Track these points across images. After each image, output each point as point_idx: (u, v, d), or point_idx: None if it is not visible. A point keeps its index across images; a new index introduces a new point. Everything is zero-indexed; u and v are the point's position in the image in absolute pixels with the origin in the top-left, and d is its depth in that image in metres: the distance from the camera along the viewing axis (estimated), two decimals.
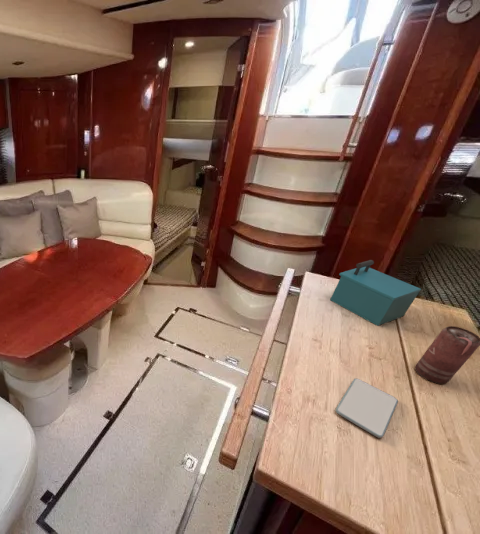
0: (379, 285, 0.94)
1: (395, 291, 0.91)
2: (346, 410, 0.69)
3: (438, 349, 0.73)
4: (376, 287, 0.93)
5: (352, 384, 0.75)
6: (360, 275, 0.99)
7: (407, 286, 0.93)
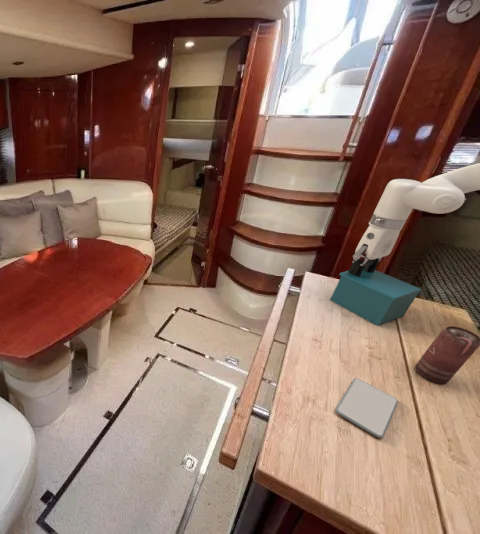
0: (379, 285, 0.94)
1: (395, 291, 0.91)
2: (346, 410, 0.69)
3: (438, 349, 0.73)
4: (376, 287, 0.93)
5: (352, 384, 0.75)
6: (360, 275, 0.99)
7: (407, 286, 0.93)
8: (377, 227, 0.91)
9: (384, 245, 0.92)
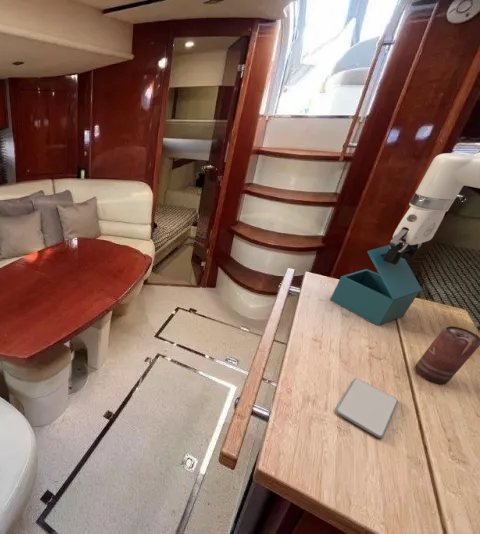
0: (392, 278, 0.90)
1: (401, 289, 0.90)
2: (346, 410, 0.69)
3: (438, 349, 0.73)
4: (389, 279, 0.90)
5: (352, 384, 0.75)
6: None
7: (413, 283, 0.92)
8: (420, 208, 0.81)
9: (427, 228, 0.83)
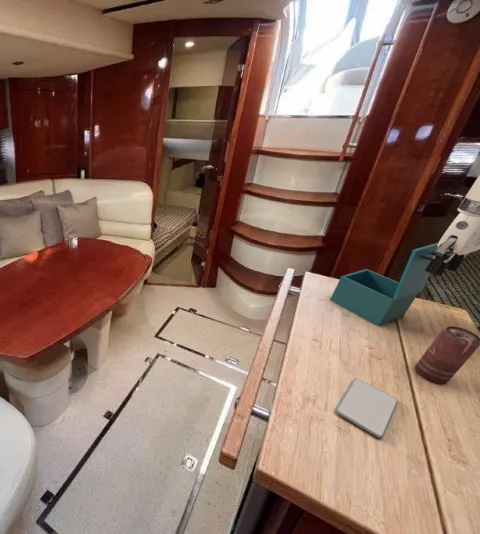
0: (409, 280, 0.87)
1: (407, 290, 0.89)
2: (346, 410, 0.69)
3: (438, 349, 0.73)
4: (406, 281, 0.86)
5: (352, 384, 0.75)
6: (421, 259, 0.85)
7: (421, 285, 0.90)
8: (472, 214, 0.73)
9: (479, 237, 0.74)
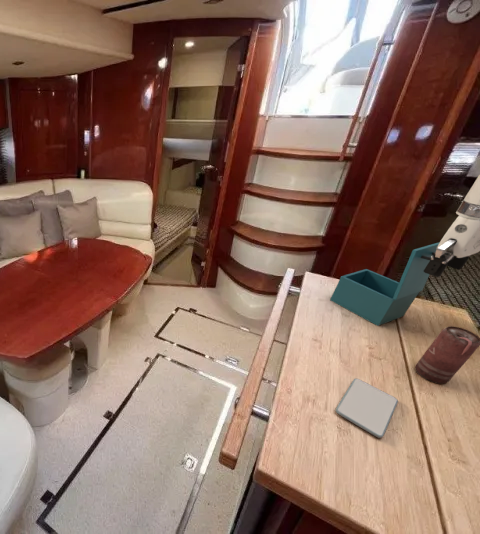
0: (409, 280, 0.87)
1: (407, 290, 0.89)
2: (346, 410, 0.69)
3: (438, 349, 0.73)
4: (406, 281, 0.86)
5: (352, 384, 0.75)
6: (421, 259, 0.85)
7: (421, 285, 0.90)
8: (471, 217, 0.73)
9: (478, 240, 0.75)
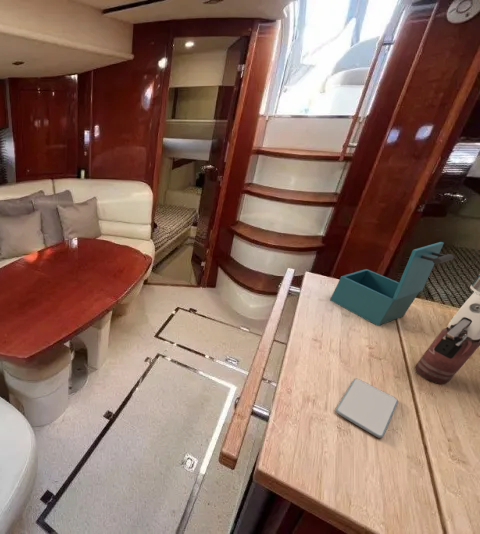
0: (409, 280, 0.87)
1: (407, 290, 0.89)
2: (346, 410, 0.69)
3: None
4: (406, 281, 0.86)
5: (352, 384, 0.75)
6: (421, 259, 0.85)
7: (421, 285, 0.90)
8: None
9: None
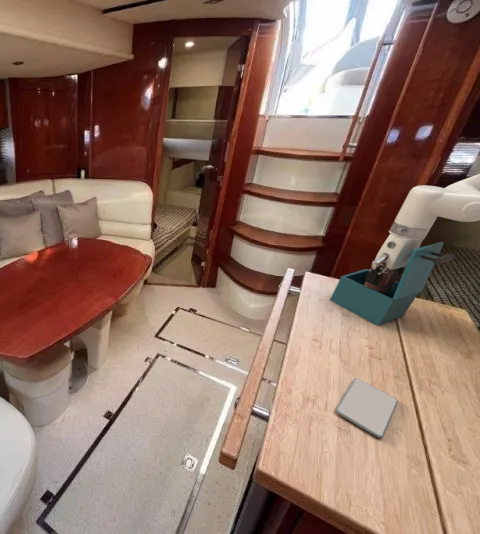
0: (409, 280, 0.87)
1: (407, 290, 0.89)
2: (346, 410, 0.69)
3: (369, 283, 0.97)
4: (406, 281, 0.86)
5: (352, 384, 0.75)
6: (421, 259, 0.85)
7: (421, 285, 0.90)
8: (399, 236, 0.87)
9: (406, 254, 0.88)
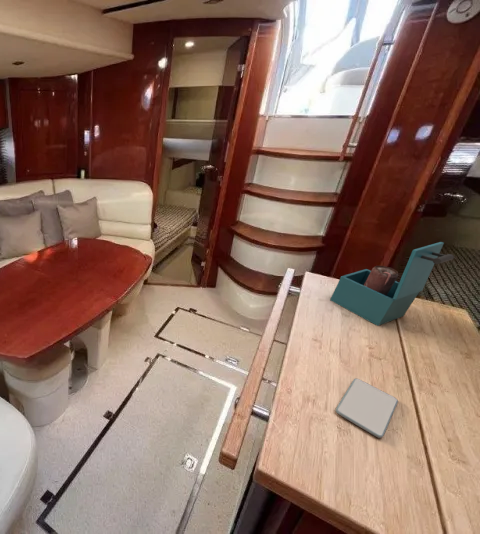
0: (409, 280, 0.87)
1: (407, 290, 0.89)
2: (346, 410, 0.69)
3: (369, 282, 0.97)
4: (406, 281, 0.86)
5: (352, 384, 0.75)
6: (421, 259, 0.85)
7: (421, 285, 0.90)
8: None
9: None
